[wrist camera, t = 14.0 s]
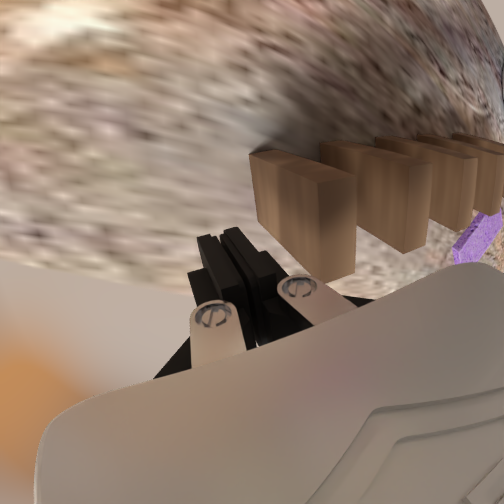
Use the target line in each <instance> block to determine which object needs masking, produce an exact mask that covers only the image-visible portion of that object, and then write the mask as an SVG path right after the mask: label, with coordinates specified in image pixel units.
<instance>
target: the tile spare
mask: <svg viewBox="0 0 504 504" xmlns="http://www.w3.org/2000/svg"><path fill="white" fill-rule="evenodd" d="M453 140H457V141H461V142H465V143H469V144H473V145H476V146H480V147H483V148H487V149H490V150H493V151H496V152H500V153H503V154H504V144H502V143H499V142H495V141H492V140H488V139H484V138H480V137H477V136H473V135H468V134H464V133H453ZM502 197H503V198H504V185H503V193H502Z"/></svg>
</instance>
